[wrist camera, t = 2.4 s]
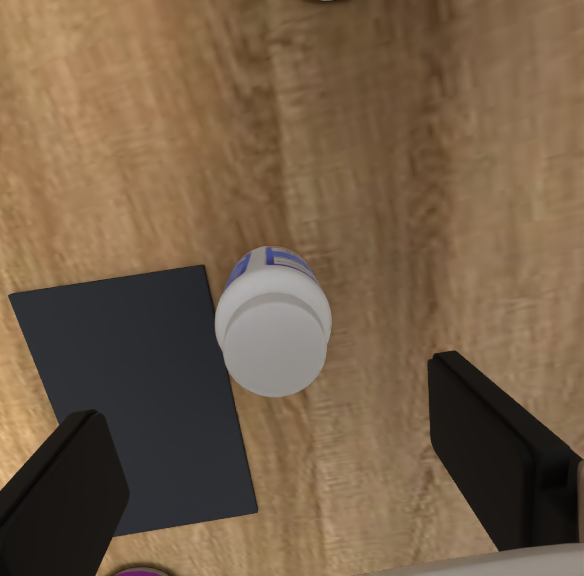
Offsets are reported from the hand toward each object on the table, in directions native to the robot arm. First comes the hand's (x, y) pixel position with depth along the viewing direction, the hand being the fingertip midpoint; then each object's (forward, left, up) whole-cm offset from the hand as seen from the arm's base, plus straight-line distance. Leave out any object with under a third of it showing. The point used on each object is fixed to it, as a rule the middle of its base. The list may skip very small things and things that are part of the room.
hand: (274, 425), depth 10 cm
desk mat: (+8, -10, -13) cm, 18 cm away
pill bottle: (0, 0, -13) cm, 13 cm away
